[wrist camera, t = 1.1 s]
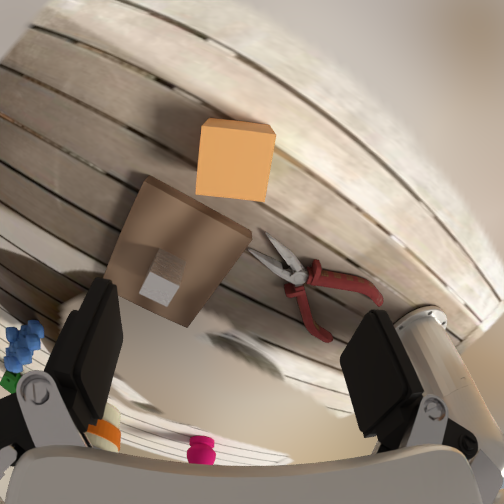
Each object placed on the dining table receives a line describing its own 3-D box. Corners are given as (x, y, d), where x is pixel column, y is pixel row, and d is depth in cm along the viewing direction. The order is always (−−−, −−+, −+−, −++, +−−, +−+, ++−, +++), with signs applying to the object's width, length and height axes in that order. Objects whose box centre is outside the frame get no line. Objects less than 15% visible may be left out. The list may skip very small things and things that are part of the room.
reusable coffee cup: (104, 421, 61) (93, 470, 49) (69, 396, 55) (52, 448, 42) (138, 419, 59) (128, 474, 46) (101, 391, 53) (85, 451, 40)
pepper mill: (221, 443, 66) (220, 511, 49) (197, 445, 67) (193, 511, 50) (207, 433, 62) (204, 507, 45) (182, 436, 64) (176, 506, 47)
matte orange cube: (269, 125, 28) (276, 134, 23) (260, 180, 31) (264, 201, 26) (209, 117, 27) (201, 126, 22) (203, 174, 31) (195, 194, 25)
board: (251, 231, 34) (253, 263, 29) (189, 317, 41) (183, 353, 36) (149, 175, 30) (129, 197, 25) (105, 276, 37) (87, 309, 32)
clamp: (44, 371, 58) (48, 402, 52) (37, 381, 58) (40, 411, 52) (4, 357, 49) (5, 390, 43) (-1, 368, 49) (-1, 399, 43)
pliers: (291, 202, 33) (295, 211, 31) (382, 292, 41) (389, 304, 39) (223, 265, 37) (222, 278, 35) (323, 335, 45) (327, 348, 43)
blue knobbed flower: (35, 294, 39) (1, 347, 28) (62, 322, 42) (34, 378, 32) (9, 313, 41) (-20, 359, 31) (32, 337, 44) (8, 385, 34)
